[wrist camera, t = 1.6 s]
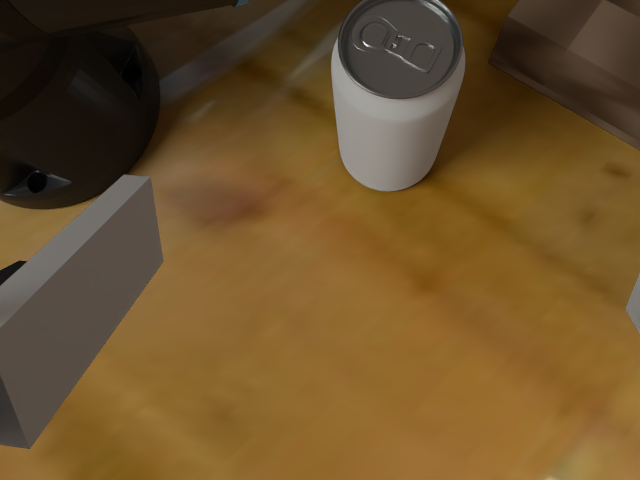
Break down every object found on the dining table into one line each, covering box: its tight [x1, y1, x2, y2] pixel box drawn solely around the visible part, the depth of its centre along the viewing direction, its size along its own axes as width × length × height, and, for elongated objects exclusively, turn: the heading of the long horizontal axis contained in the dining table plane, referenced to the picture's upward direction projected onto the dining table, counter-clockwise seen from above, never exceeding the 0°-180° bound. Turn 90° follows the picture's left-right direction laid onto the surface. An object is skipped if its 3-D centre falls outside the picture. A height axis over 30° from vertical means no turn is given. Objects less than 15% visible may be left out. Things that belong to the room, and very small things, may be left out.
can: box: [331, 0, 465, 191], centre depth 30 cm, size 6×6×12 cm
